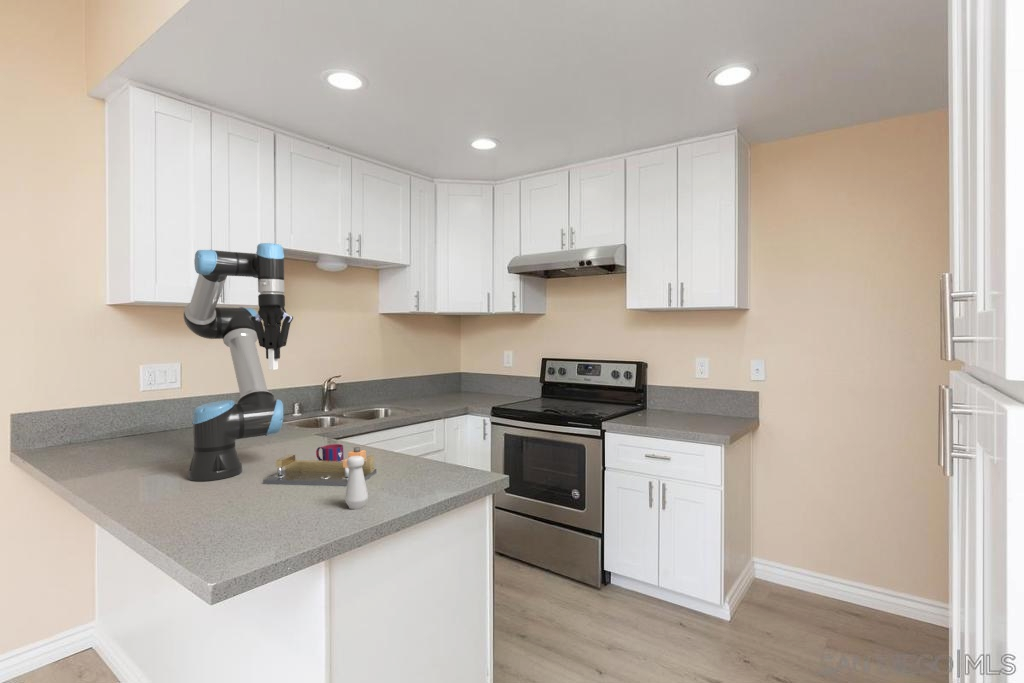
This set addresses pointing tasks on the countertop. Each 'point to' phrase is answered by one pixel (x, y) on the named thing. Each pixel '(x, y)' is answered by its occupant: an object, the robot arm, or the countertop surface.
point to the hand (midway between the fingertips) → (273, 369)
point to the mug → (331, 453)
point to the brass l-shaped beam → (318, 465)
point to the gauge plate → (312, 478)
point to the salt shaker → (356, 483)
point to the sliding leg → (353, 453)
